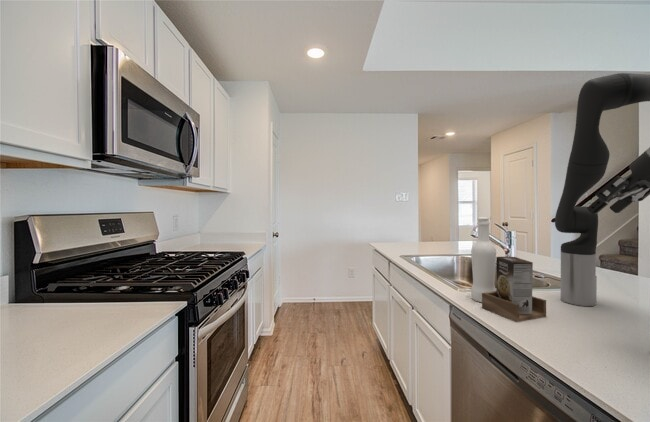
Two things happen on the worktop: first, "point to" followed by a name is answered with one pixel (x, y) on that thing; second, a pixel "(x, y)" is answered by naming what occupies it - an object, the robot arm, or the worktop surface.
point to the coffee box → (515, 282)
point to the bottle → (483, 262)
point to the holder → (512, 307)
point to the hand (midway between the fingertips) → (602, 211)
